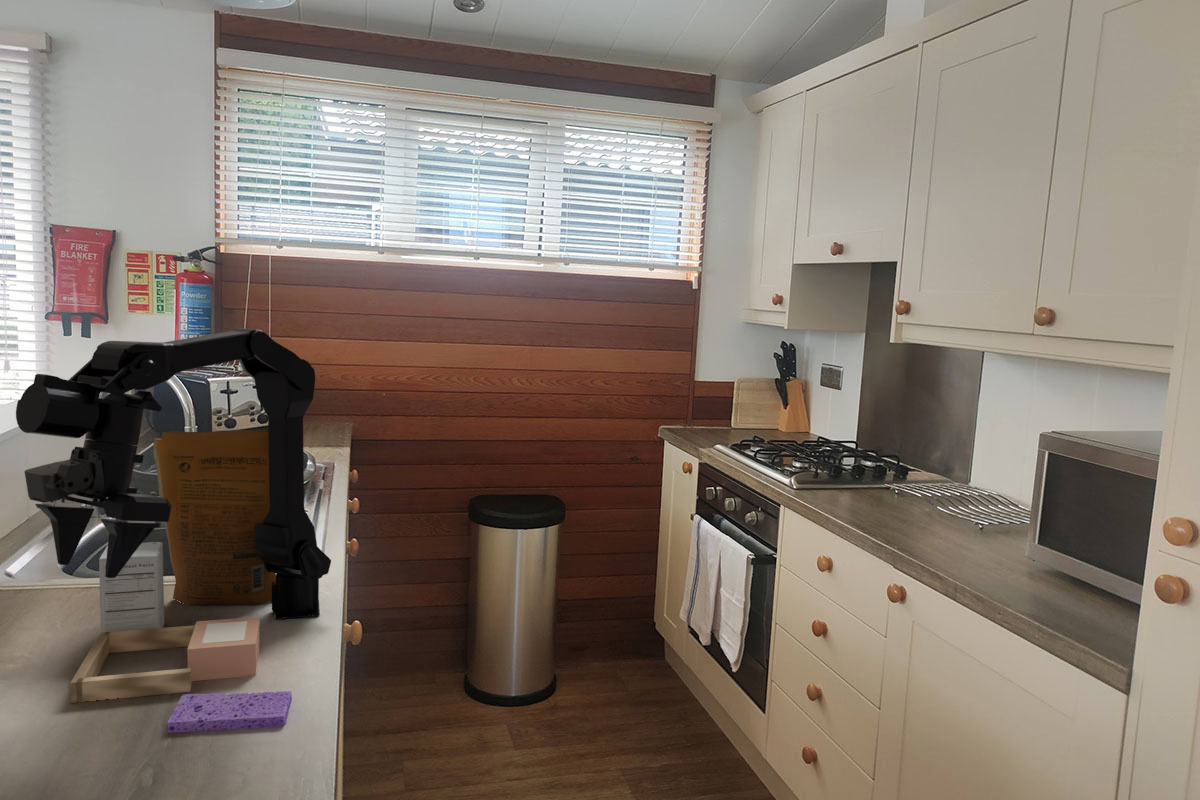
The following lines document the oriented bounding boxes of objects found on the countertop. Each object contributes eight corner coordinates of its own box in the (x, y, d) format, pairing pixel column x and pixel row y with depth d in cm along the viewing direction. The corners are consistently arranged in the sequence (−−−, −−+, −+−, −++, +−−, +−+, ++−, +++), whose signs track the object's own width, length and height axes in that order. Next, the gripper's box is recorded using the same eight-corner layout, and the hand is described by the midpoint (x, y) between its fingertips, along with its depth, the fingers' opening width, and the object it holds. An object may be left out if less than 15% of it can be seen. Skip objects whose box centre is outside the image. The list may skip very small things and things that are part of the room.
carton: (259, 647, 121) (259, 616, 121) (255, 677, 112) (255, 643, 111) (196, 653, 119) (196, 620, 118) (187, 683, 109) (187, 648, 109)
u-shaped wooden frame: (204, 641, 122) (203, 624, 122) (190, 691, 106) (189, 672, 106) (100, 650, 118) (100, 632, 117) (70, 703, 102) (70, 682, 102)
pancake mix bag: (280, 609, 136) (280, 432, 133) (153, 609, 134) (150, 430, 131) (291, 595, 142) (291, 426, 140) (170, 595, 140) (167, 424, 137)
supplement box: (108, 628, 125) (107, 543, 124) (165, 624, 128) (164, 540, 127) (99, 648, 118) (97, 558, 117) (159, 642, 121) (158, 554, 120)
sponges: (182, 709, 103) (182, 694, 103) (293, 703, 106) (293, 688, 105) (166, 737, 96) (165, 721, 96) (285, 730, 99) (285, 715, 99)
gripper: (-3, 427, 103) (-30, 559, 101) (96, 443, 94) (67, 588, 93) (88, 437, 112) (64, 558, 111) (184, 453, 104) (160, 583, 103)
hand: (86, 571), depth 104 cm, fingers open, 9 cm apart
